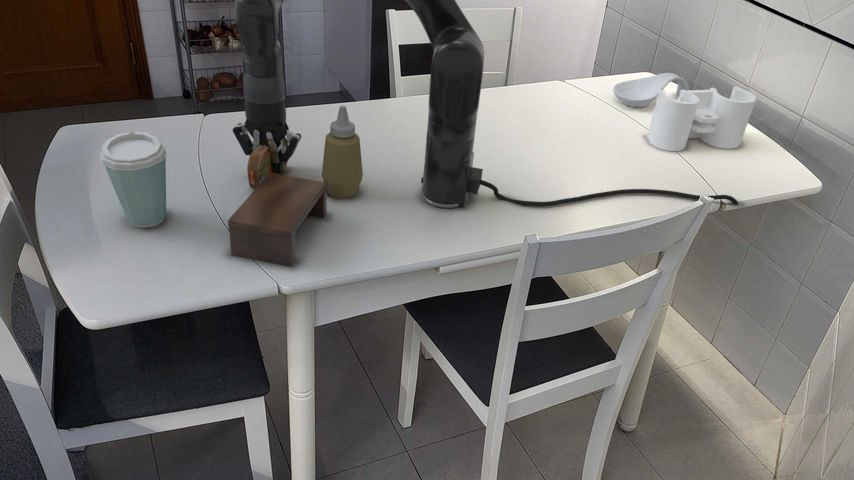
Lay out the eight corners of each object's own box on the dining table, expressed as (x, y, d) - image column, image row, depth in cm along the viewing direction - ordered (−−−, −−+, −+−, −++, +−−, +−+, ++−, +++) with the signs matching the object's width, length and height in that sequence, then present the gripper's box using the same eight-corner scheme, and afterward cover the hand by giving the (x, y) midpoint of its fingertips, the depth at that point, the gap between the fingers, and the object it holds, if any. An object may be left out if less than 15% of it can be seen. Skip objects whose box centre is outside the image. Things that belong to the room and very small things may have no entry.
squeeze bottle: (345, 206, 144) (346, 120, 133) (313, 192, 147) (311, 106, 136) (370, 190, 150) (373, 106, 139) (339, 177, 153) (339, 94, 142)
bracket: (662, 153, 177) (675, 105, 170) (641, 135, 184) (654, 89, 177) (748, 147, 184) (765, 101, 177) (725, 130, 192) (740, 86, 184)
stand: (326, 214, 141) (326, 182, 137) (292, 266, 126) (290, 232, 122) (271, 204, 142) (269, 172, 138) (231, 254, 127) (227, 220, 123)
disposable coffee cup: (176, 232, 131) (164, 156, 122) (110, 237, 128) (93, 159, 119) (176, 202, 139) (165, 128, 130) (114, 206, 136) (99, 131, 127)
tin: (261, 199, 143) (259, 160, 138) (245, 196, 143) (243, 157, 138) (290, 165, 155) (289, 128, 150) (276, 162, 155) (274, 125, 150)
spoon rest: (628, 114, 194) (635, 88, 190) (602, 97, 202) (607, 71, 198) (696, 105, 204) (703, 80, 200) (668, 89, 212) (674, 64, 208)
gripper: (220, 95, 136) (228, 178, 146) (292, 107, 134) (296, 191, 145) (237, 81, 142) (244, 162, 152) (307, 92, 140) (309, 173, 151)
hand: (269, 175), depth 148 cm, fingers closed on tin, 2 cm apart
